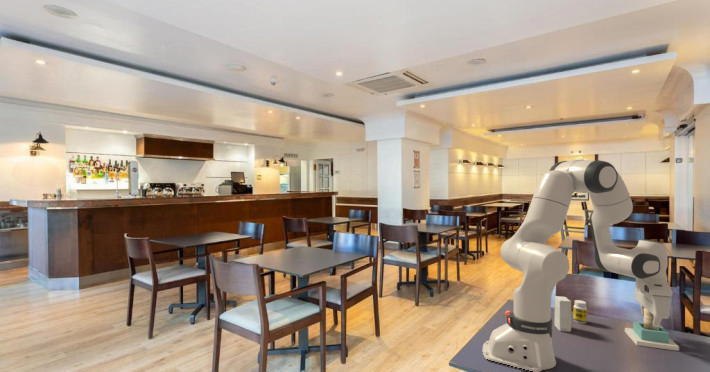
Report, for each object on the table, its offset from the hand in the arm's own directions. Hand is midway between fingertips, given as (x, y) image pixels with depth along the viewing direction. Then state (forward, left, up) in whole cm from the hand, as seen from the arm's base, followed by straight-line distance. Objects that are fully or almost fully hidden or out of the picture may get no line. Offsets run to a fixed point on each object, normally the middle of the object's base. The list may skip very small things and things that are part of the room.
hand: (650, 321), depth 130 cm
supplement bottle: (-20, +11, -7) cm, 24 cm away
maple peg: (0, 0, -6) cm, 6 cm away
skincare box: (-28, +1, -7) cm, 29 cm away
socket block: (0, 0, -7) cm, 7 cm away
